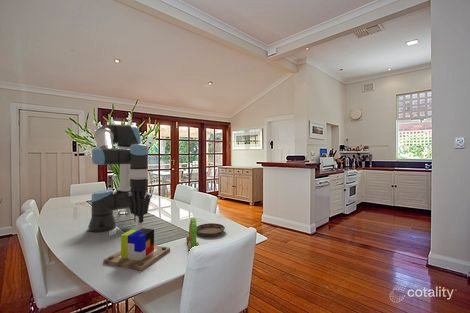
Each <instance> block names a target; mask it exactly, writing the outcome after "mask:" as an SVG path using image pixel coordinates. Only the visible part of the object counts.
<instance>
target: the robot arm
mask: <svg viewBox="0 0 470 313" xmlns="http://www.w3.org/2000/svg"><path fill="white" fill-rule="evenodd" d="M93 135H94V141H95V142H96V148H95V147H94V148H92V150H91V163H92V164H93V165H94V166H95V165H100V166H106V165H110V166H111V165H119V186H118V187H117V188H116V190H115V191H114V190H113V189H110V188H109V189H101V190H97V191H96V192H93V193H92V194H91V200H90V202H91V218H90V219H89V220H90V221H89V224H88V226H87V230H88V231H89V232H91V233H101V232H107V231H108V232H109V231H110V230H114V229H115V228H116V227H117V222H116V219H115V217H114V211H119V210H129V212H130V214H131V215H133V216H134V223H135V227H134V228H135V230H137V231H138V230H141V229H142V228H143V223H144V216H145V215H147V214H148V212H149V208H150V202H151V198H152V197H153V193H149V191H148V186H149V184H148V183H149V182H148V181H149V179H148V174H149V172H148V170H149V169H148V167H149V166H148V164H149V157H148V156H149V148H148V145H146V144H141V133H140V130H139V127H138V126H136V125H132V124H131V125H129V124H113V123H111V124H109V123H108V124H105V125H102V126H101V127H99V128H97V129H96V131H95V132H94V134H93ZM114 144H117V145H116V146H117V148H115V147H114Z"/></svg>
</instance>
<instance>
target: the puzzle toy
mask: <svg viewBox="0 0 470 313" xmlns="http://www.w3.org/2000/svg"><path fill="white" fill-rule="evenodd" d="M154 245H155V229H154V228H144V227H142V229H141V230H138V231H137V230H135V227H134V228H132V229H130V230H128V231H126V232H124V233H122V234H121V235H120V251H121V257H123V258H131V259H138V260H142V259H143V258H144V257H146V256H147V255H148V254H150V253H151V252H152V251H154Z"/></svg>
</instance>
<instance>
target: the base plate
mask: <svg viewBox="0 0 470 313" xmlns="http://www.w3.org/2000/svg"><path fill="white" fill-rule="evenodd" d="M170 252H171V247H168V246H163V245H162V246H161V245H156V244H154V251H152V252H151V253H150V254H148V255H147V256H146V257H144V258H143V259H142V260H138V259H131V258H123V257H121V250H120V251H119V250H118V251H117V252H116V253H113V254H112V255H109V256H107V257H106V258H104V259H103V264H107V265H110V266H114V267H115V266H116V267H120V268H125V269H130V270H133V271H138V272H139V271H140V272H143V271H144V270H145V269H147V268H148V267H149V266H151V265H152V264H154V263H155V262H157V261H158V260H159V259H161V258H163V256H165V255H167V254H168V253H170Z"/></svg>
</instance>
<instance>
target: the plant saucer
mask: <svg viewBox="0 0 470 313" xmlns="http://www.w3.org/2000/svg"><path fill="white" fill-rule="evenodd" d="M196 226H197V235H199V236H202V237H205V238H209V237H210V238H211V237H217V236H219V235H221V234H222V233H223V232H224V231H225V229H226V227H225V226H224V225H223V224H220V223H215V222H214V223H213V222H211V223H210V222H208V223H203V224H199V225H196Z"/></svg>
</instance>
